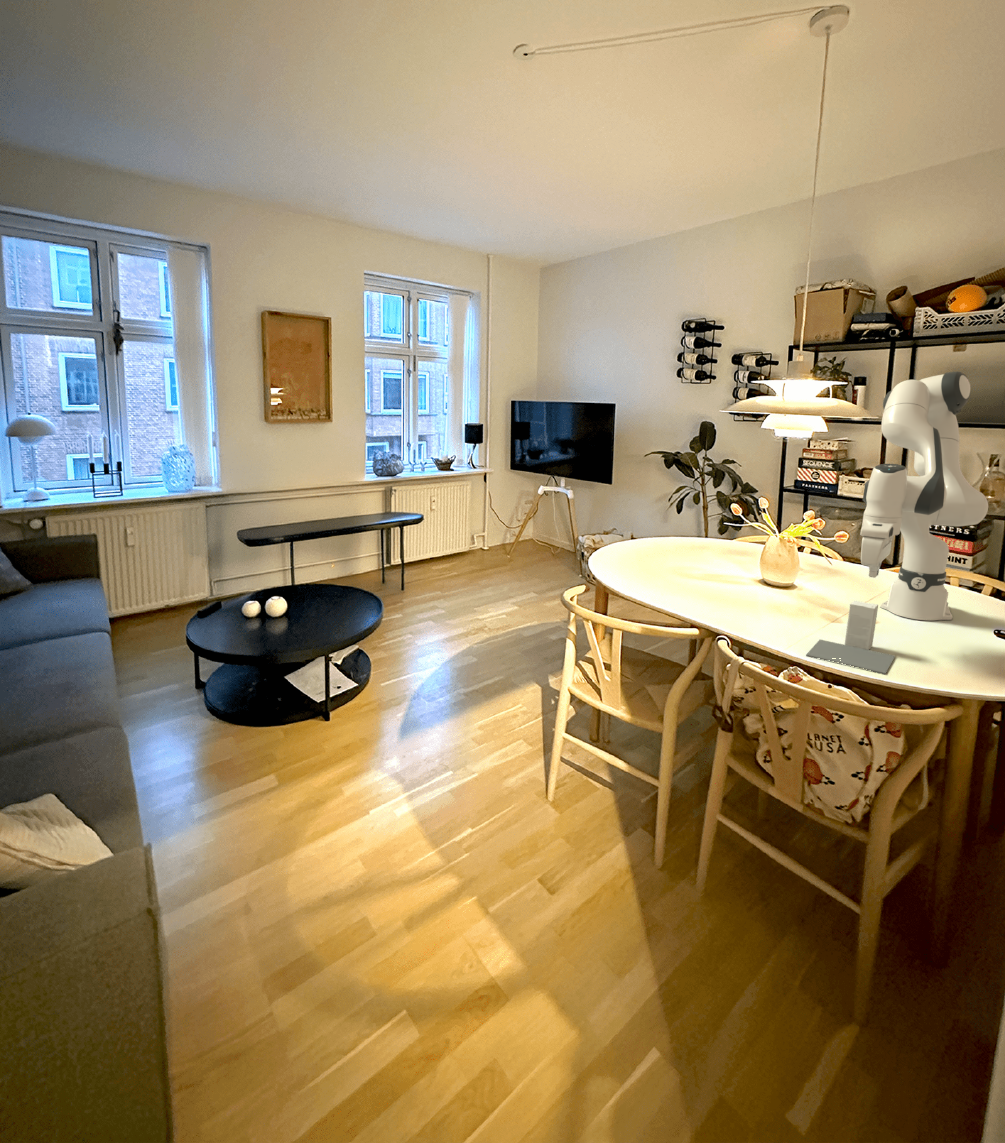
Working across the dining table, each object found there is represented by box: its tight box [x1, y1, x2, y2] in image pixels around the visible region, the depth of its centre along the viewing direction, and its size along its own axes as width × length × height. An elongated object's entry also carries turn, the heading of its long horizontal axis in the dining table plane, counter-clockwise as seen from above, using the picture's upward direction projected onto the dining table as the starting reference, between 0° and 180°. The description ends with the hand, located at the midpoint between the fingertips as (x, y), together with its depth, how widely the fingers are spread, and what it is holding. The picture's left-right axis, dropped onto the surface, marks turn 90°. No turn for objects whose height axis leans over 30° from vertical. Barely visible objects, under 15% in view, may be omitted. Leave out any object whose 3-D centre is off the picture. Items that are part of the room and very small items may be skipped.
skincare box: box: [844, 600, 879, 650], centre depth 166 cm, size 6×4×12 cm
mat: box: [805, 639, 896, 675], centre depth 161 cm, size 14×18×1 cm
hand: (873, 576), depth 168 cm, fingers closed
